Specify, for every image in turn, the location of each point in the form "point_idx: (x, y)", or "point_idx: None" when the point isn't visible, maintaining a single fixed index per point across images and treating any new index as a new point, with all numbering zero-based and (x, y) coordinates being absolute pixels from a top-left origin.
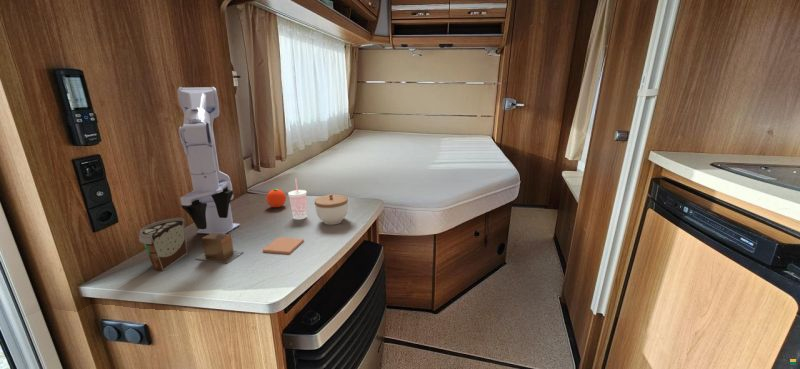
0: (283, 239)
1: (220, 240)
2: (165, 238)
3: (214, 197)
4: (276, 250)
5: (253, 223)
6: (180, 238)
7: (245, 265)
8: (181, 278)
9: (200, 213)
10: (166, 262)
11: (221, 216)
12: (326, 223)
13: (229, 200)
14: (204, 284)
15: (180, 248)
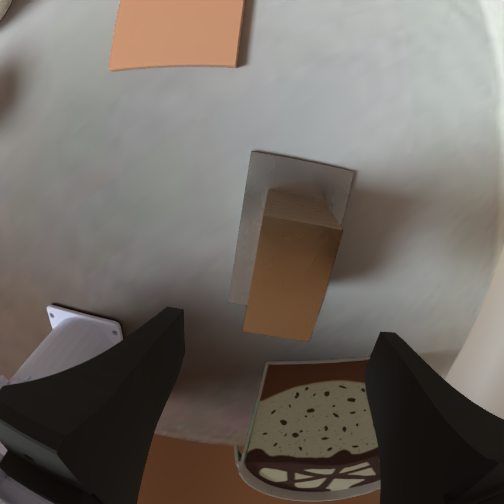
0: (128, 35)
1: (341, 232)
2: (358, 433)
3: (134, 484)
4: (240, 3)
5: (26, 267)
6: (281, 410)
7: (364, 86)
8: (437, 276)
9: (481, 410)
10: (364, 369)
11: (181, 344)
12: (9, 2)
13: (78, 373)
14: (478, 179)
15: (293, 384)
